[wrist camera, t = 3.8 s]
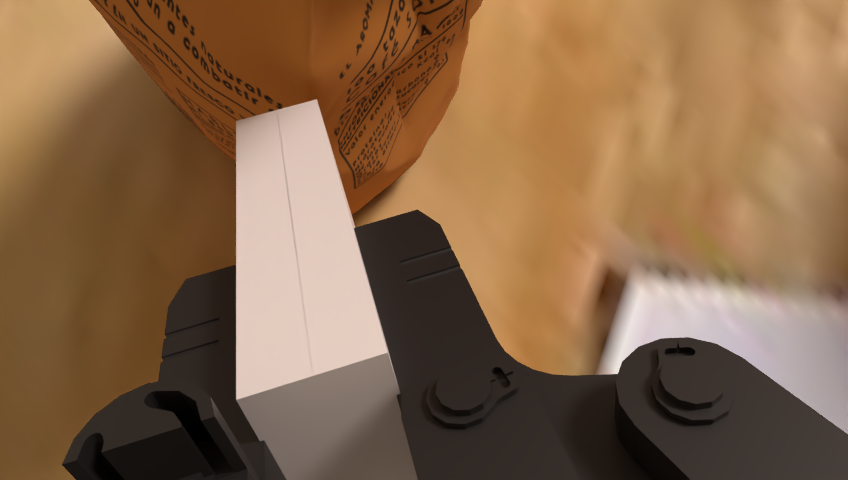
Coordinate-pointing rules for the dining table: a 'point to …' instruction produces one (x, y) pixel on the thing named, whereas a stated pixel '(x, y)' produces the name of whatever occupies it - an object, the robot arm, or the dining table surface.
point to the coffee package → (307, 70)
